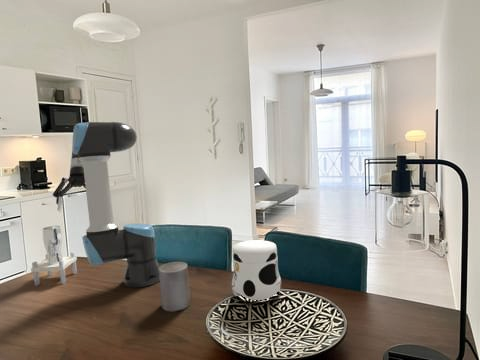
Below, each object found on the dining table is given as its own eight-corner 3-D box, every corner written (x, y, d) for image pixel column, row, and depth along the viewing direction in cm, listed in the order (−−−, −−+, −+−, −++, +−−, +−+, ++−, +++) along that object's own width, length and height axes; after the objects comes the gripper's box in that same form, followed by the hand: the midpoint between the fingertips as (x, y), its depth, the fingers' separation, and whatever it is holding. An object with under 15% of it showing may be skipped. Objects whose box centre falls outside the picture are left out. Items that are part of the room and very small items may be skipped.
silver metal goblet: (45, 265, 146) (41, 230, 144) (46, 261, 152) (43, 227, 151) (63, 262, 149) (59, 228, 147) (64, 258, 155) (61, 224, 153)
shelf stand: (78, 272, 158) (76, 251, 157) (65, 283, 145) (62, 261, 144) (48, 274, 158) (46, 253, 157) (33, 285, 145) (30, 263, 144)
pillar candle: (173, 297, 127) (169, 256, 125) (196, 300, 122) (192, 259, 121) (155, 309, 118) (151, 266, 116) (179, 314, 114) (175, 269, 112)
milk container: (224, 293, 128) (221, 244, 126) (265, 282, 135) (263, 236, 134) (246, 312, 112) (244, 257, 110) (291, 299, 120) (289, 247, 118)
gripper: (107, 171, 178) (104, 211, 169) (54, 173, 174) (49, 214, 166) (103, 164, 171) (100, 205, 162) (48, 166, 167) (42, 208, 159)
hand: (74, 210), depth 164 cm, fingers open, 13 cm apart
